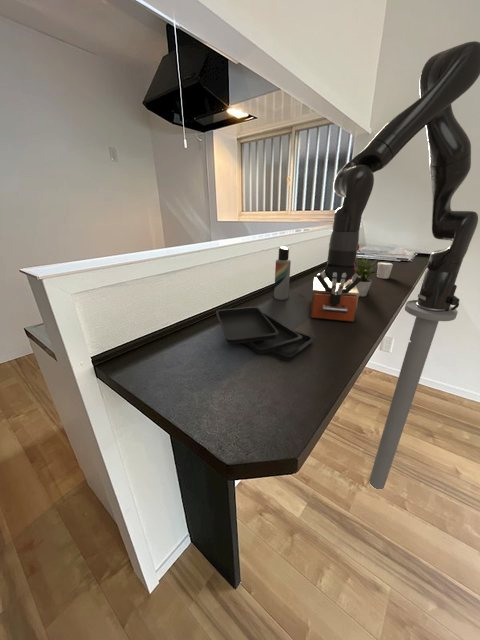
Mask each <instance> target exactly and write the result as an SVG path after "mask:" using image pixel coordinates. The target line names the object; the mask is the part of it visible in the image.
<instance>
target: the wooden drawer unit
mask: <svg viewBox="0 0 480 640" xmlns="http://www.w3.org/2000/svg"><path fill="white" fill-rule="evenodd" d="M330 296H331V294H329V293H315V294H314V302H313V311H312V317H315V318H314V319H318V318H325V319H324V320H329V319H336V320H335V321H339V320H346V321H345V322H349V321H353V318H354V313H355V307H356V302H357V296H353V295H342V294H341V298H340V303H339V305H338V304H337V306H332V304H330ZM355 314H356V313H355Z"/></svg>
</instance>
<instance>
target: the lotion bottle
mask: <svg viewBox="0 0 480 640" xmlns="http://www.w3.org/2000/svg"><path fill="white" fill-rule="evenodd" d="M289 255H290V248H289V247H286V246H280V247H279V248H278V255H277V257H278V258H277V259H276V260H275V268H274V269H275V270H274V271H275V272H274V290H273V297H274V299H275V300H280V301H284V300H287V299H288V298H289V291H290V279H291V278H290V277H291V263H292V262H291V260H290V257H289Z"/></svg>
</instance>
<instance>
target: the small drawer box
mask: <svg viewBox="0 0 480 640" xmlns="http://www.w3.org/2000/svg"><path fill="white" fill-rule="evenodd" d="M324 280H325V281H326V283H327V284H328V286H329V287H331V285H332V282H330V280H329V279H328V277H325V279H324ZM351 281H352V280H348V281H347V282H346V283H344V287H346V286H347V285H348V284H349V283H350V282H351ZM344 287H343V288H344ZM337 288H338V283H336V293H337ZM315 293H329V292H326V291H325V289H324V288H323V286H322V285H321V283H320V282H319V280H318V279H317V276H316V277H315V276H314V277H313V285H312V294H311V304H310V312H309V313H310V314H309V318H310V319H316V318H315V317H312V311H313V302H314V294H315ZM329 294H331V293H329ZM342 295H353V296H357V302H356V307H355V313H354V318H353V321H348V322H351V323H354V322H355V318H356V313H357V307H358V303H359V297H360V296H359V291H358V289H357V287H356V286H355V287H354V288H353V289H351V290H350V291H349V292H348V293H343V294H342ZM317 319H320V320H326V319H325V318H317ZM328 320H329V321H330V320H331V321H337V320H336V319H328ZM338 321H340V322H347V321H346V320H338Z"/></svg>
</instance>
